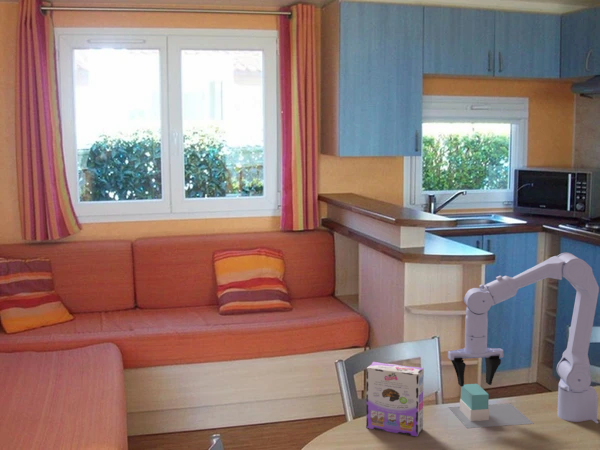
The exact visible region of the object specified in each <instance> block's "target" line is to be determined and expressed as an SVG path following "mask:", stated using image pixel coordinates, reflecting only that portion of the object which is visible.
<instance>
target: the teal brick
mask: <svg viewBox="0 0 600 450" xmlns="http://www.w3.org/2000/svg"><path fill="white" fill-rule="evenodd" d="M489 396H490V395H489V393H488V392H487V391H485V389H484V388H483V387H481V385H479V384H478V383H466V384H465V383H464V386H462V387H461V386H460V399H461V400H462V401H463V402H464V403H465V404H466V405H467V406H468V407H469V408H470V409H471V410H481V409H488V405H489Z"/></svg>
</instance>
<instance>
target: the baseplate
mask: <svg viewBox="0 0 600 450" xmlns="http://www.w3.org/2000/svg"><path fill="white" fill-rule="evenodd" d="M447 408H448V409H449V410H450V411H451V413H452V414H453V415H454V416H455V417H456V418H457V419H458V420H459V421H460V422H461V424H462V425H463V426H464V427H465V428H466V429H473V428H490V427H491V428H492V427H504V426H505V427H506V426H520V425H534V422H533V421H531V419H529V418H528V417H527V416H526V415H525V414H523V413H522V412H521V411H520V410H519V409H518V408H517V407H515V406H514V405H513V404H512V403H497V404H488V409H481V410H471V409H470V408H469V407H468V406H467V405H466V404H465V403H464V402H463V401H462V400H461V398H459V406H451V407H449V406H448V407H447Z"/></svg>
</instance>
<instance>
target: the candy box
mask: <svg viewBox="0 0 600 450" xmlns="http://www.w3.org/2000/svg"><path fill="white" fill-rule="evenodd" d="M365 371H366V372H365V374H366V379H365V380H366V382H365V383H366V385H365V386H366V387H365V389H366V390H365V391H366V395H365V396H366V397H365V398H366V402H365V403H366V412H365V413H366V420H365V421H366V426H365V428H366V429H368V428H369V429H370V430H374V429H375V430H376V431H381V432H387V433H391V434H394V433H395V434H401V435H404V436H405V435H406V436H413V437H418V436H419V434H420V433H421V432H422V430H423V429H424V372H425V371H424V367H417V366H409V365H402V364H401V365H400V364H395V363H393V364H392V363H385V362H378V361H372V362H371V364H369V365H368V366H367V367H366V369H365Z"/></svg>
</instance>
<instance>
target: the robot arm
mask: <svg viewBox="0 0 600 450" xmlns="http://www.w3.org/2000/svg"><path fill="white" fill-rule="evenodd" d="M548 278H549V279H555V280H560V281H561V280H563V279H566V280H567V281H568V283H569V284H570V285H571V286H572V287H573V288H574V290H575V291H576V292H575V293H576V294H575V300H574V305H573V310H572V317H571V322H570V328H569V335H568V340H567V346H566V349H565V350H564V351H563V352H562V355H561V356H562V357H561V358H560V360H559V361H558V363H557V364H556V373H557V375H558V377H559V379H560V380H559V382H558V391H557V410H556V411H557V413H556V415H557V417H558V418H559V419H561V420H562V421H566V422H567V421H568V422H572V423H574V422H575V423H577V422H578V423H579V422H585V421H593V422H594V423H596V425H598V424H599V421H598V407H599V398H598V394H597V390H596V388H594V387H593V386H592V385H591V383H592V376H591V373H590V372H591V371H590V369H591V368H590V367H591V363H590V359H589V355H588V354H589V349H590V343H591V339H592V331H593V327H594V321H595V315H596V309H597V305H598V304H597V303H598V298H599V292H600V287H599V284H598V281H597V280H596V277H595V275H594V271H593V267H591V266H590V265H589V264H588V263H587V261H585V260H583V259H582V258H579V257H577V256H576V255H574V254H573V253H571V252H561V253H560V254H558V255H554V256H551V257H549V258H547V259H546V260H543V261H541V262H539V263H538V264H536V265H534V266H533V267H530V268H528V269H526V270H524V271H523V272H521V273H519V274H518V273H517V274H516V275H514V276H513V277H512V276H508V275H504V276H502V275H497V276H495V279H494V280H492V281H490V282H487V283H486V284H483V283H482V284H479V285H478V286H479V287H473V288H469V289H468V290H467V291H466V293H465V295H464V297H463V301H464V304H465V305H466V307H465V318H464V319H465V320H464V321H465V322H464V323H465V325H464V327H465V328H464V347H463V348H460V349H453V350H448V351H447V359H449V360H450V362H451V364H452V365H453V368H454V370H455V374H456V377H457V381H458V382H457V383H458V385H459V386H460V388H461V387H462V386H464V384H465V370H466V366H467V365H466V363H465V362H464V359H465V360H466V359H480V358H481V359H485V383H486V384H487V385H489V386H492V383H493V380H494V377H495V374H496V372H497V370H498V368H499V366H500V365H501V363H502V360H501V359H502V358H504V349H502V348H500V347H499V348H498V347H497V348H496V347H495V348H493V347H488V329H489V327H488V325H489V323H488V322H489V317H488V314H489V313H488V311H490V309H491V307H492V306H495V305H498V304H500V303H502V302H504V301H507V300H509V299H511V298H513V297H515V296H517V293H518V291H519V290H520V289H522V288H524V287H527V286H530V285H532V284H535V283H537V282H539V281H542V280H544V279H548Z"/></svg>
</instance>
